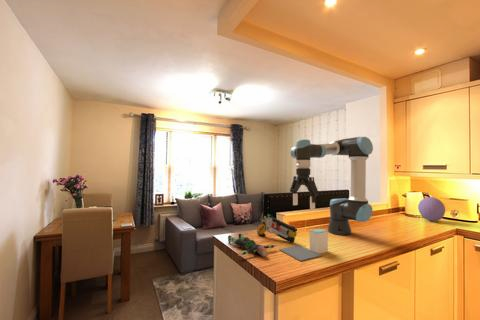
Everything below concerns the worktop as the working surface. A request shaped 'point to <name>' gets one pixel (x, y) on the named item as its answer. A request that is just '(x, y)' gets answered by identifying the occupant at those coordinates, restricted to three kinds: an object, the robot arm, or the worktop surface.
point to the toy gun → (277, 228)
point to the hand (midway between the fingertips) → (303, 206)
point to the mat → (300, 253)
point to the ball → (431, 208)
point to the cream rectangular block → (319, 240)
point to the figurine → (249, 245)
